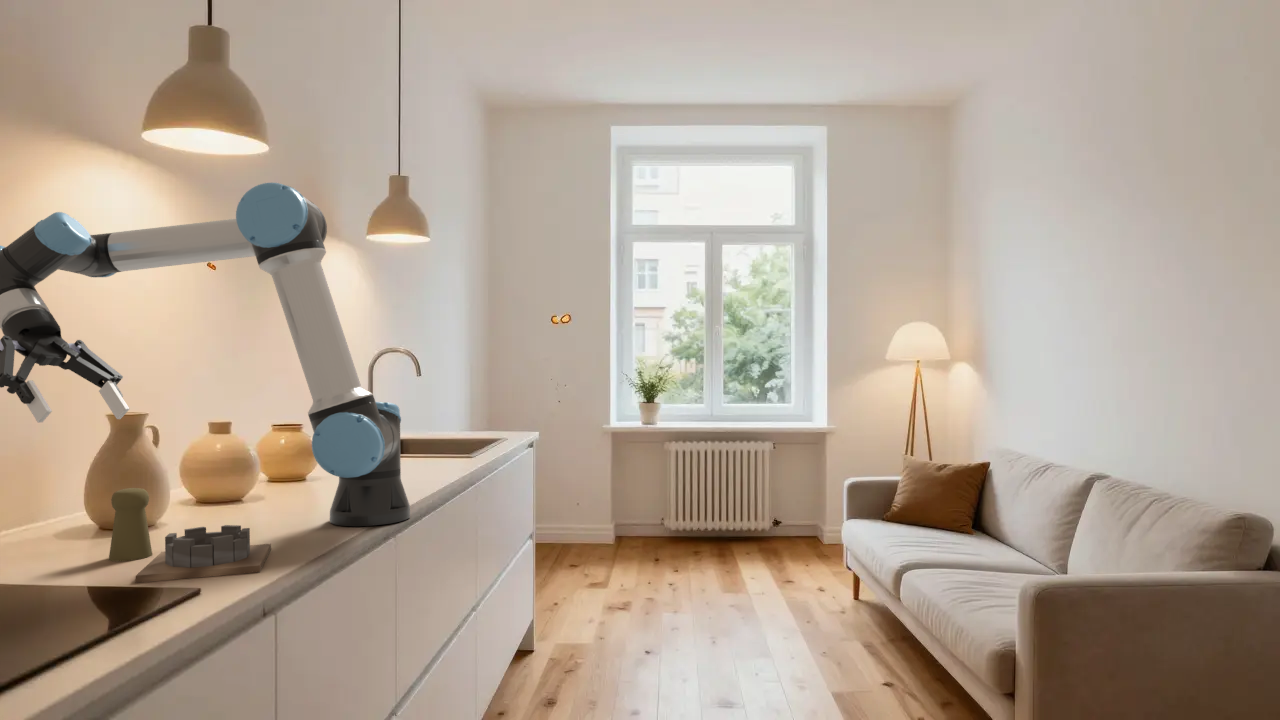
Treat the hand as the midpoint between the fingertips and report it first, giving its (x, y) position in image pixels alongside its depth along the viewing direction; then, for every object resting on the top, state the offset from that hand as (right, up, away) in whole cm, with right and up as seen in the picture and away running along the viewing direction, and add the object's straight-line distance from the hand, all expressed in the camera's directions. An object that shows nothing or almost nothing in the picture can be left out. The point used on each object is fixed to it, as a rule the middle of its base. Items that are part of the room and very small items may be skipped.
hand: (86, 415), depth 135 cm
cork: (+9, -23, -3) cm, 25 cm away
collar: (+25, -22, -9) cm, 35 cm away
